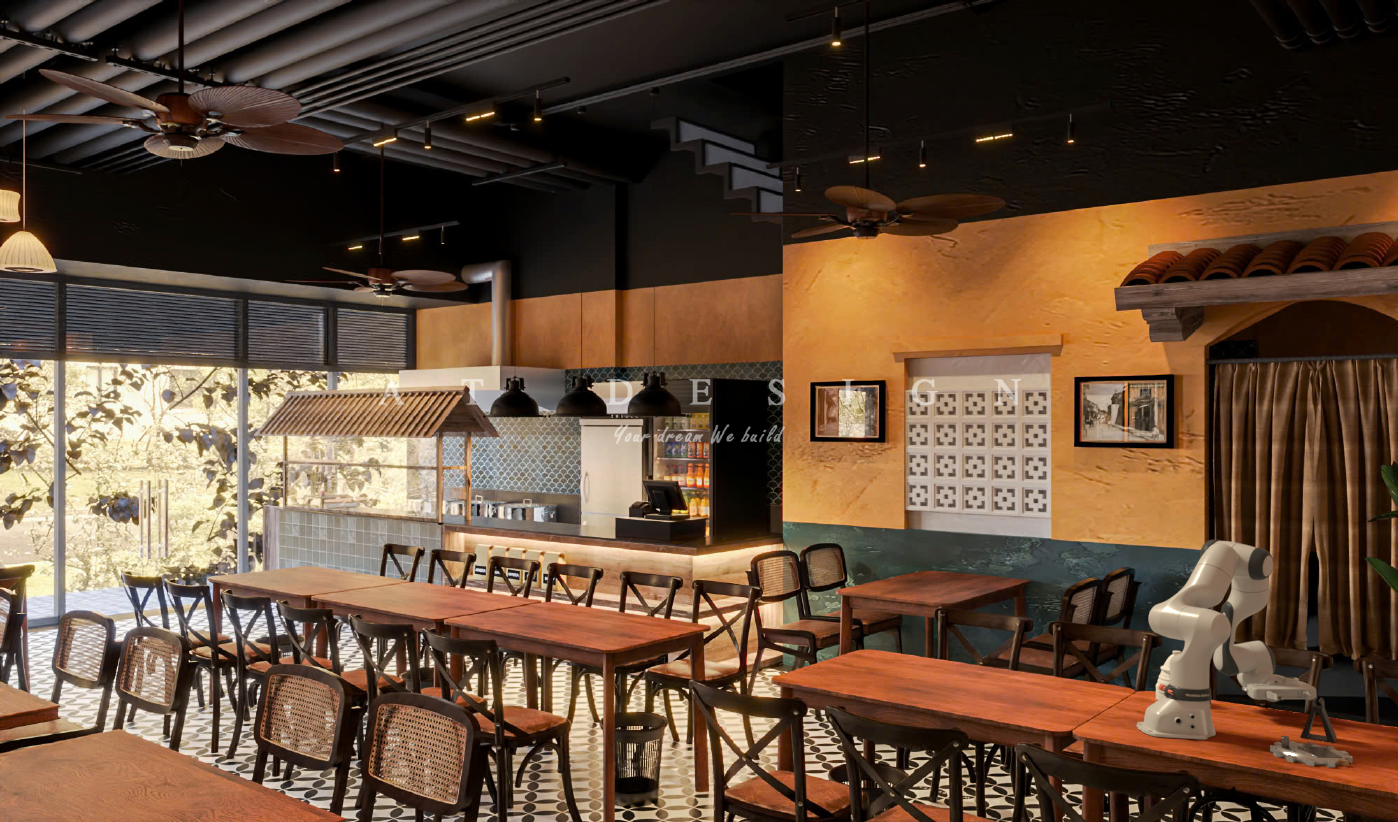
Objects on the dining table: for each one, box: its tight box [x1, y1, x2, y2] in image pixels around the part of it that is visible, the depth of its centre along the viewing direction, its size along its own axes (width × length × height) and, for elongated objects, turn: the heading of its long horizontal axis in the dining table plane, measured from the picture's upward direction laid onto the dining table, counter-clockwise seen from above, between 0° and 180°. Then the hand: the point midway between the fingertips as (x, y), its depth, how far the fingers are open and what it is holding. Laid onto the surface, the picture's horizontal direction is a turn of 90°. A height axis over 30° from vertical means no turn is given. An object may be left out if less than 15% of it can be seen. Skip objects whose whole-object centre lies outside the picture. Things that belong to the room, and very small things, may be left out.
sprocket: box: [1269, 735, 1354, 768], centre depth 292 cm, size 20×20×4 cm
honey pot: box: [1155, 650, 1182, 700], centre depth 355 cm, size 13×13×18 cm
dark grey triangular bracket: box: [1300, 696, 1338, 744], centre depth 311 cm, size 9×6×12 cm, turn 52°
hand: (1294, 697), depth 325 cm, fingers open, 8 cm apart
